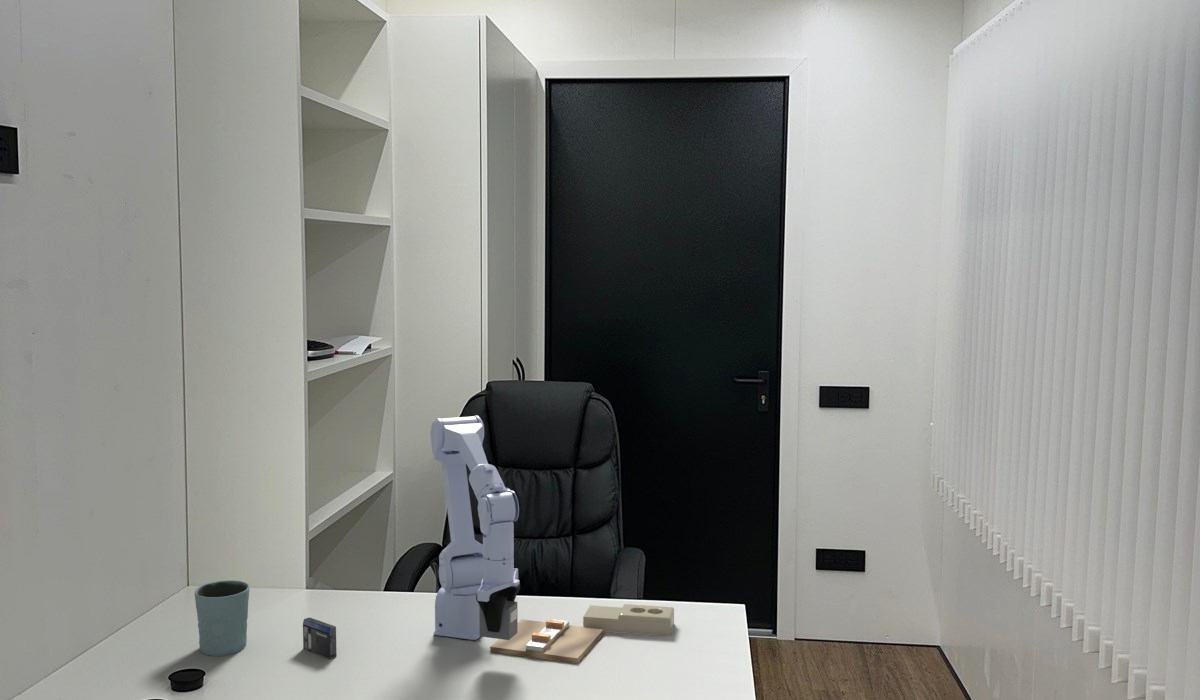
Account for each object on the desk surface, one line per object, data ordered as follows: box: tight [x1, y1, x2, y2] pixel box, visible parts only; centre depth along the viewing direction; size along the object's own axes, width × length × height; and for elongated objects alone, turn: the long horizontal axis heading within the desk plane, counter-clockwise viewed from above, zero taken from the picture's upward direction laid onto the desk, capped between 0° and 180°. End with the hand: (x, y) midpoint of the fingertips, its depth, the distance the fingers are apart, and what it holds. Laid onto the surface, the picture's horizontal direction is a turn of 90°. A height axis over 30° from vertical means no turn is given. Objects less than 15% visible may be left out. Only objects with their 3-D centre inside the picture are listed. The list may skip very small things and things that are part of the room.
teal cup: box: [194, 579, 251, 657], centre depth 199 cm, size 10×10×12 cm
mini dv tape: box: [302, 617, 338, 660], centre depth 197 cm, size 8×2×6 cm, turn 53°
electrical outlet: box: [582, 603, 675, 637], centre depth 212 cm, size 7×4×18 cm
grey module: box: [479, 600, 518, 640], centre depth 192 cm, size 6×4×6 cm, turn 72°
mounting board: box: [489, 619, 605, 664], centre depth 203 cm, size 18×16×1 cm
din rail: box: [526, 618, 570, 652], centre depth 203 cm, size 4×15×2 cm, turn 162°
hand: (498, 627), depth 192 cm, fingers closed on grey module, 4 cm apart
